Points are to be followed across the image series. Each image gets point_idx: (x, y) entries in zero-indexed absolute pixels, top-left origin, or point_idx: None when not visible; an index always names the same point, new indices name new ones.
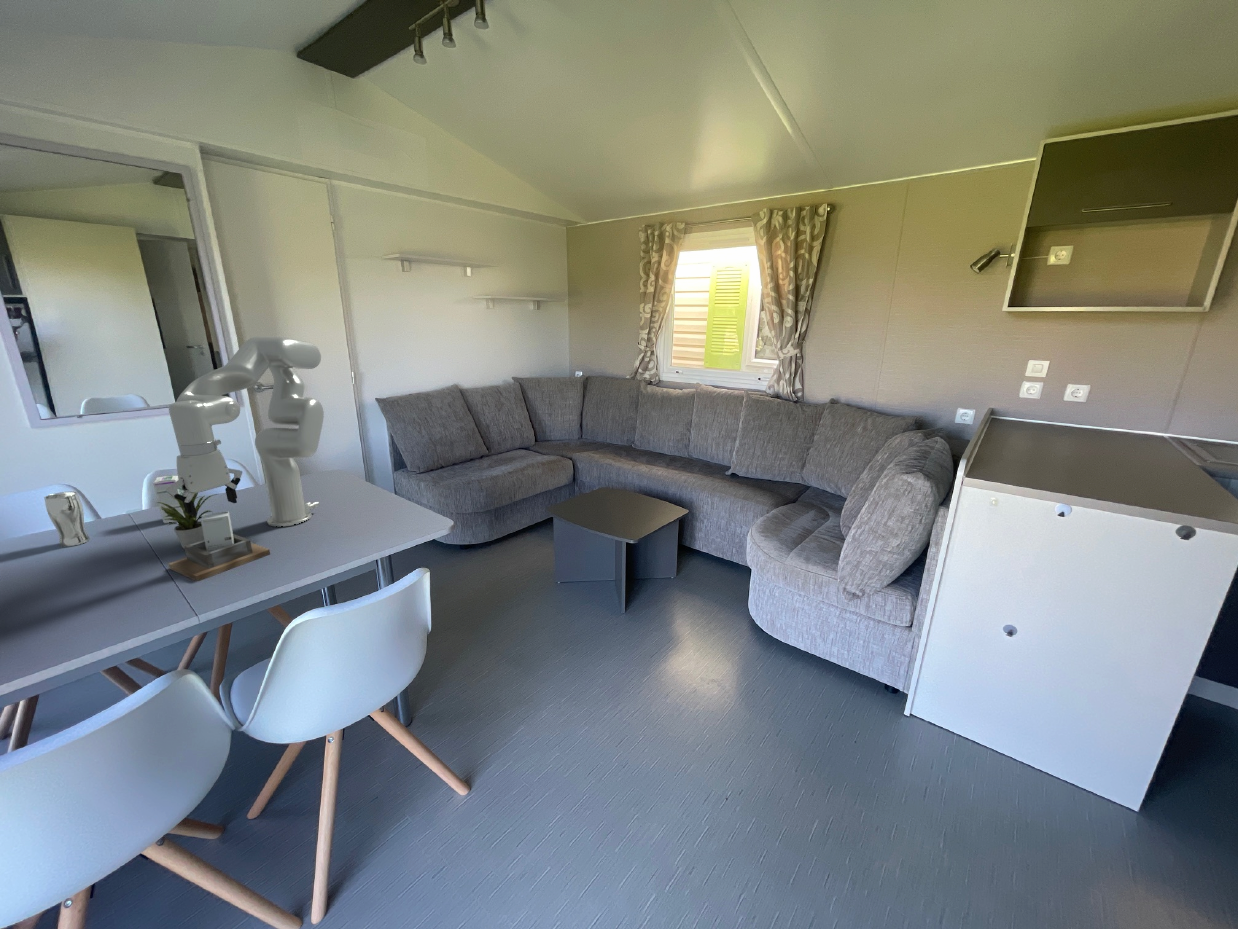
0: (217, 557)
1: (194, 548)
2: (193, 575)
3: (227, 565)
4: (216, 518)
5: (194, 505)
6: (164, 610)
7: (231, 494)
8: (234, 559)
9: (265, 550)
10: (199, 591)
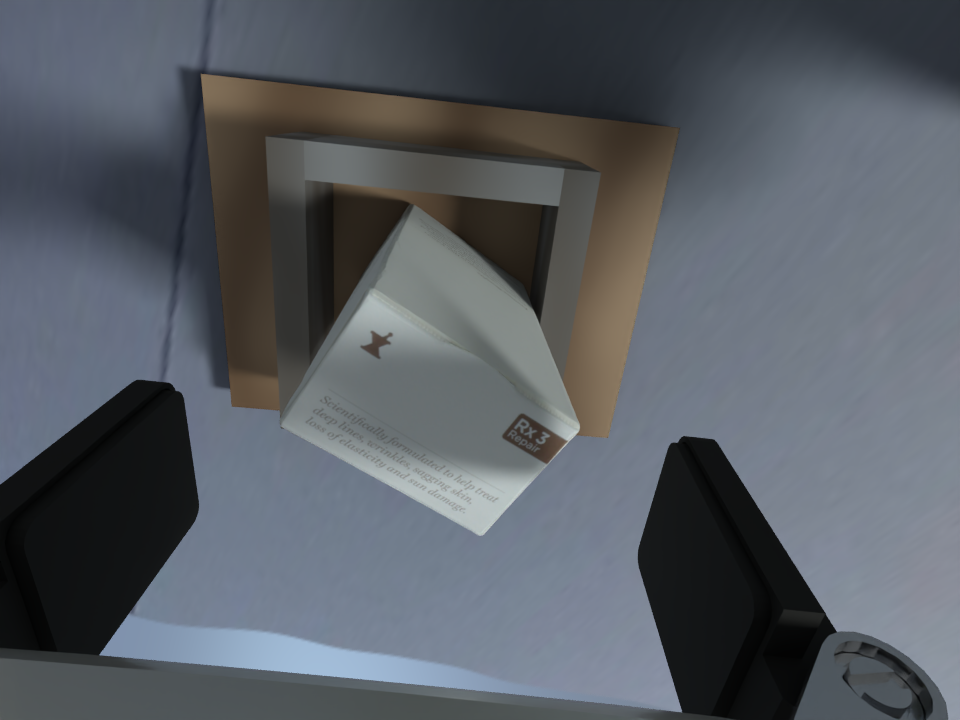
0: None
1: (290, 253)
2: (230, 375)
3: None
4: (400, 485)
5: (117, 626)
6: None
7: (674, 669)
8: None
9: (588, 433)
10: (207, 482)
